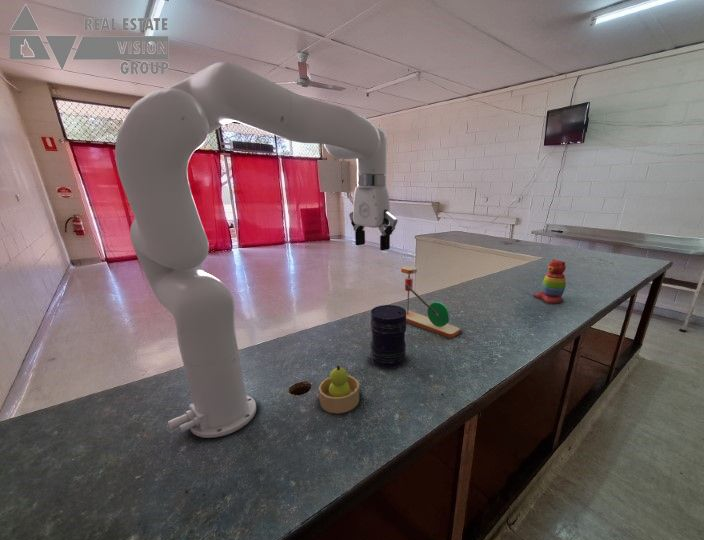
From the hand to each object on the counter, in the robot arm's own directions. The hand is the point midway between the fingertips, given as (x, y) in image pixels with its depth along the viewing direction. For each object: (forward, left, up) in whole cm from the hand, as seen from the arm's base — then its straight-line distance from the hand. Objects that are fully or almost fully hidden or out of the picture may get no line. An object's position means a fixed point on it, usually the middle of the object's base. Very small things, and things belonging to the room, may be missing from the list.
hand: (372, 247), depth 88 cm
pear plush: (-24, -14, -30) cm, 41 cm away
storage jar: (-3, -10, -31) cm, 33 cm away
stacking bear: (+85, -29, -31) cm, 95 cm away
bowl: (-24, -14, -31) cm, 42 cm away
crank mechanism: (+24, -4, -31) cm, 39 cm away
